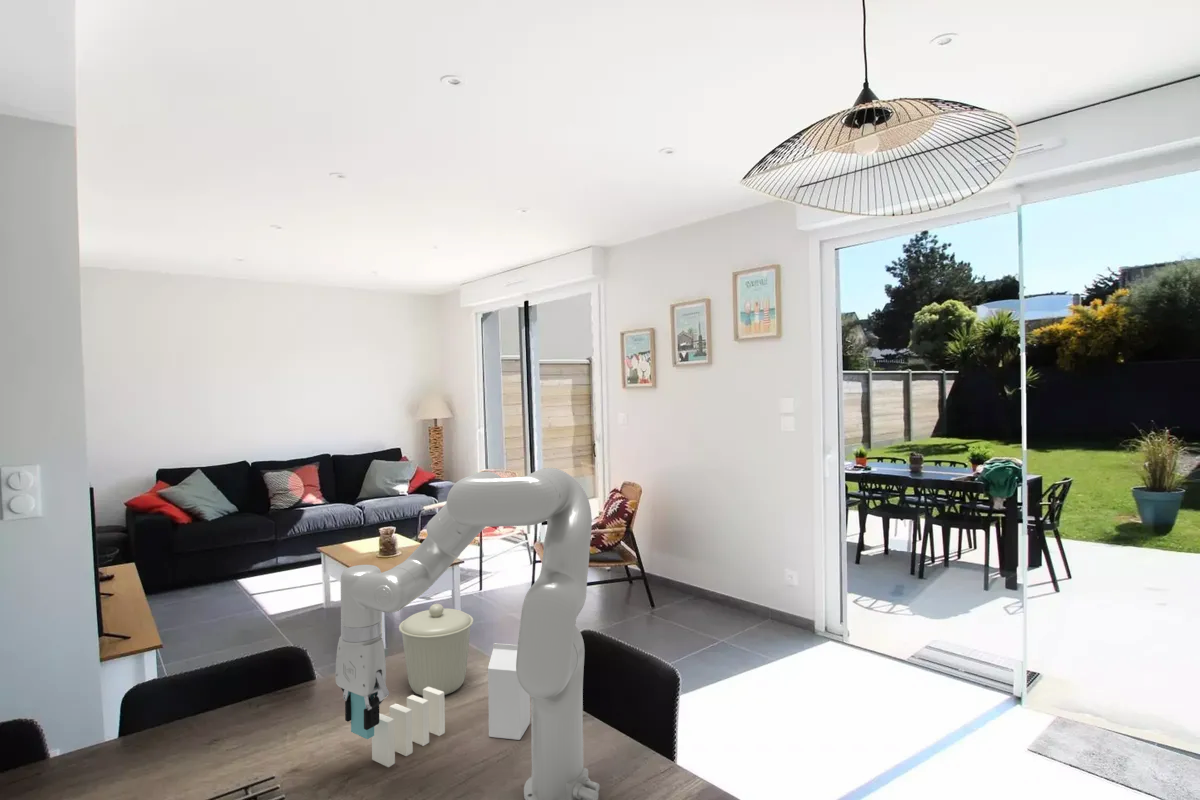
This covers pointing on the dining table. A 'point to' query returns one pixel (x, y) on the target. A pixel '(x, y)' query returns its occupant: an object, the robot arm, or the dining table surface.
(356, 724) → the domino
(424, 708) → the domino
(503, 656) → the milk carton
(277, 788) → the dining table surface
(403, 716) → the domino
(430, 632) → the canister
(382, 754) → the domino
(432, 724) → the domino
